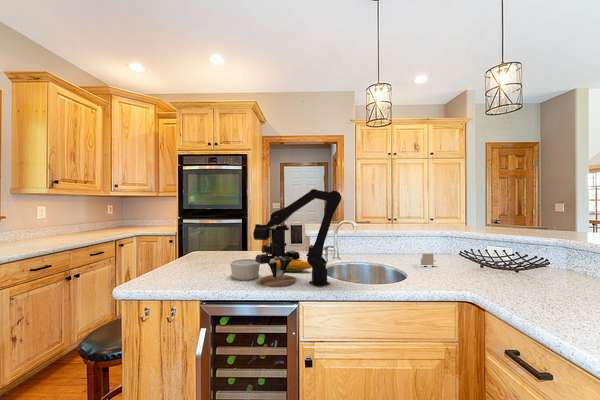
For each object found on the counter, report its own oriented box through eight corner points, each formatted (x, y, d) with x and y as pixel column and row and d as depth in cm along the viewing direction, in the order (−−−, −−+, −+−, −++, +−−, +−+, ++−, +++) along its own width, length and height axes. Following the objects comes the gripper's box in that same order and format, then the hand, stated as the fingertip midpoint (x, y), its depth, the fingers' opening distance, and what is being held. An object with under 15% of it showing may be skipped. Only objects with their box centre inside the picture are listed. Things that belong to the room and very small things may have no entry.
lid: (302, 282, 112) (302, 271, 112) (271, 289, 104) (271, 277, 104) (283, 274, 125) (283, 264, 125) (254, 280, 116) (254, 269, 116)
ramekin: (263, 273, 127) (263, 258, 127) (256, 282, 114) (256, 265, 114) (236, 272, 128) (236, 258, 128) (225, 280, 115) (225, 264, 115)
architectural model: (419, 266, 144) (419, 252, 144) (433, 266, 143) (433, 252, 143) (422, 267, 140) (422, 253, 140) (435, 268, 139) (435, 253, 140)
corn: (275, 253, 137) (314, 255, 132) (275, 267, 137) (314, 270, 132) (270, 257, 129) (311, 259, 125) (270, 272, 130) (311, 275, 125)
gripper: (287, 236, 126) (287, 269, 126) (250, 239, 116) (250, 276, 116) (300, 239, 117) (300, 275, 117) (261, 243, 106) (261, 282, 106)
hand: (278, 277), depth 114 cm, fingers closed on lid, 3 cm apart
